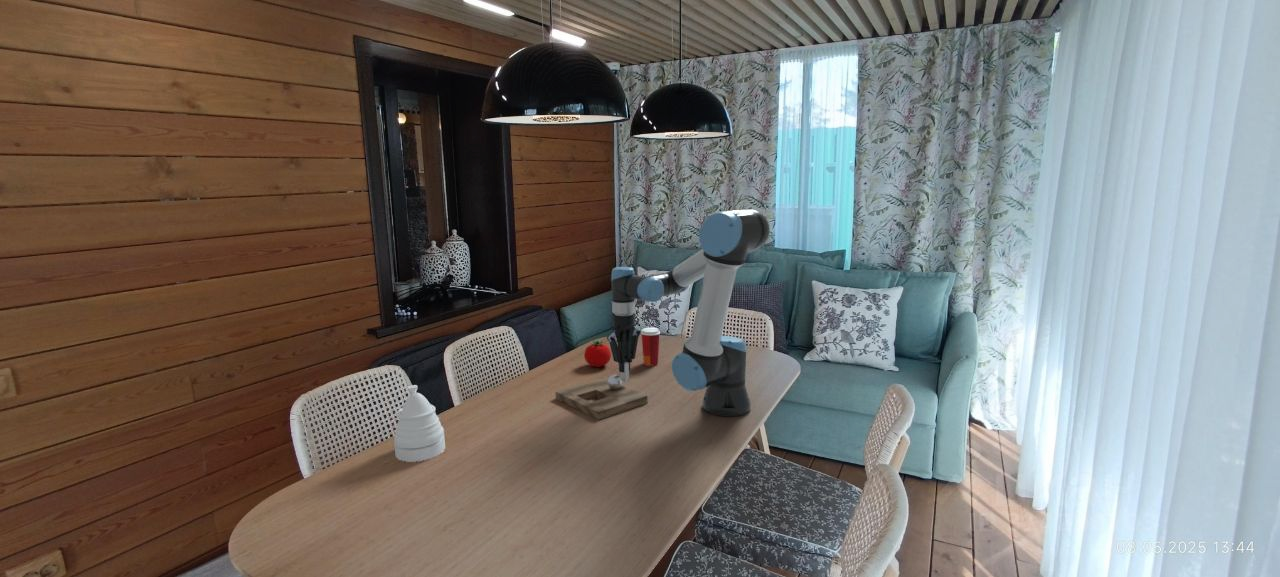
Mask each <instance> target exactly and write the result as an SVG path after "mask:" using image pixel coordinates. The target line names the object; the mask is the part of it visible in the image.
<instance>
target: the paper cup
mask: <svg viewBox="0 0 1280 577" xmlns="http://www.w3.org/2000/svg"><path fill="white" fill-rule="evenodd" d="M640 332H641V333H640V335H641V345H642V346H641V347H642V359H643V365H644V366H646V367H655V366H658V364H659V352H660V351H659V349H660V348H659V347H660V334H661V331H660V328H657V327H645V328H642V329H641V331H640Z"/></svg>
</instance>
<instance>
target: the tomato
mask: <svg viewBox="0 0 1280 577" xmlns="http://www.w3.org/2000/svg"><path fill="white" fill-rule="evenodd" d="M583 357H584V360H585V362H586V364H588V365H590V366H592V367H595V368H601V367H604V366H606V365H607V364H608V363H609V362H610V360H611V358H612V351H611V348H610V347H609V346H608V345H606V344H605V343H603V340H601V341H595V340H592V343H590V345H588V346H586V348H585V351H584V356H583Z"/></svg>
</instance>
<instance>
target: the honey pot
mask: <svg viewBox="0 0 1280 577" xmlns="http://www.w3.org/2000/svg"><path fill="white" fill-rule="evenodd" d="M417 391H418V385H417V384H414V385H413V384H411V385H408V386H407V392H409V393H410V394H411V395H409V396H408V398H407V399H406V400H405V403H404V404H403V406H402V407H401V408H400V409H398V410H397V411H396V414H395V415H396V418H398V422H397V423H396V429H395V433H394V436H393V441H394V442H393V444H394V454H395V458H396V459H397V458H398V459H397V460H399V461H401V460H402V461H401V462H404V461H406V462H405V463H416V461H417V462H424V461H427V459H428V460H431V459H433V457H434V458H435V456H436V457H438V456H439V454H440V453H441V454H443V452H444V451H445V450H446V442H445V440H446V439H445V438H446V437H445V429H444V427H443V426H442V422H441V421H440V418H439V416H438V415H437V413H436V406H434V405H433V404H431V403H430V402H429V401H428V399H427V398H426V397H425V396H424V395H423V394H422V393H420V392H417ZM444 449H445V450H444ZM441 454H440V455H441ZM437 455H438V456H437ZM423 460H424V461H423Z"/></svg>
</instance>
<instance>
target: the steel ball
mask: <svg viewBox="0 0 1280 577" xmlns="http://www.w3.org/2000/svg"><path fill="white" fill-rule="evenodd" d="M607 380H608V381H607V383H608V386H609V387H610V388H611V389H613V390H616V389H619V388H620V387H621V385H622V386H623V381H622V379H621V375H619V374H612V375H609V377H608V379H607Z"/></svg>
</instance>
